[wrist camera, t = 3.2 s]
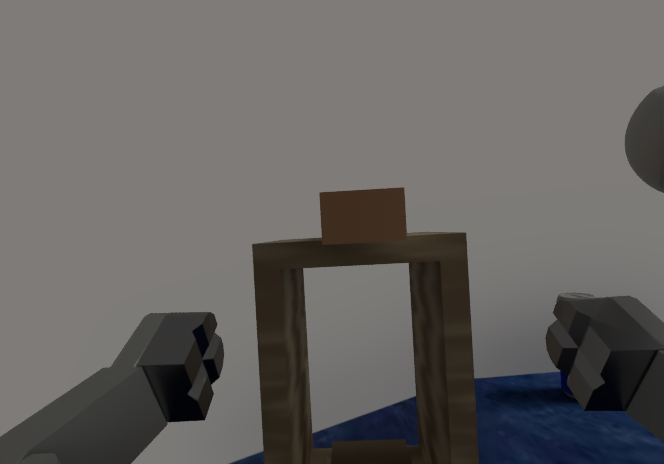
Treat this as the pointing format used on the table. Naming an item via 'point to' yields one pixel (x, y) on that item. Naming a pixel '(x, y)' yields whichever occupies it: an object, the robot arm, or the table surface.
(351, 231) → the rust strip
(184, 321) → the robot arm
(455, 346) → the frame
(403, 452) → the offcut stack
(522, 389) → the table surface
